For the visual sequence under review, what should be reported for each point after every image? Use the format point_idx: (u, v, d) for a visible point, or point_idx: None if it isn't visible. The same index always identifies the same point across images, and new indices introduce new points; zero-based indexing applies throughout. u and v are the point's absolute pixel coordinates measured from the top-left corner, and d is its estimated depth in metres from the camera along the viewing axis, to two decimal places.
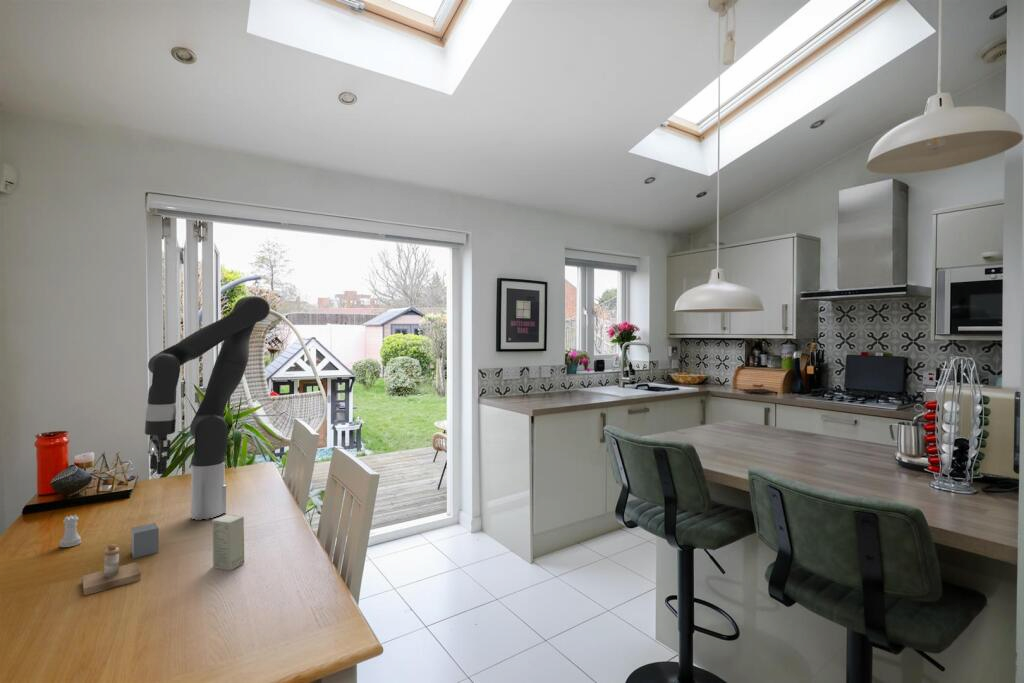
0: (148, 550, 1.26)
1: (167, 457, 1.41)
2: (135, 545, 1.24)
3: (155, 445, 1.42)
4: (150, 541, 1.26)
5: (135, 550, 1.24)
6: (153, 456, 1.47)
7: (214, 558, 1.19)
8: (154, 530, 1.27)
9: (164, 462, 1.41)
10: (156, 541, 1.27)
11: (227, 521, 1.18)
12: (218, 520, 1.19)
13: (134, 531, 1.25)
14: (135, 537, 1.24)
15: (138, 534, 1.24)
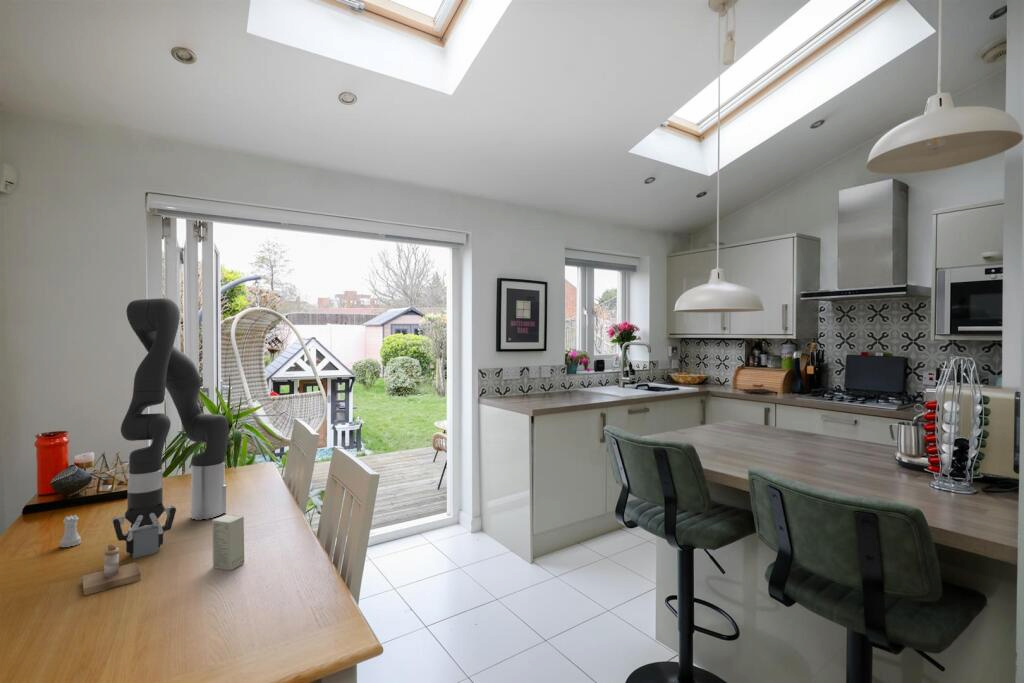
0: (148, 550, 1.26)
1: None
2: (135, 545, 1.24)
3: (156, 516, 1.28)
4: (150, 541, 1.26)
5: (135, 550, 1.24)
6: None
7: (214, 558, 1.19)
8: (154, 530, 1.27)
9: (162, 532, 1.30)
10: (156, 541, 1.27)
11: (227, 521, 1.18)
12: (218, 520, 1.19)
13: None
14: (135, 537, 1.24)
15: (138, 534, 1.24)
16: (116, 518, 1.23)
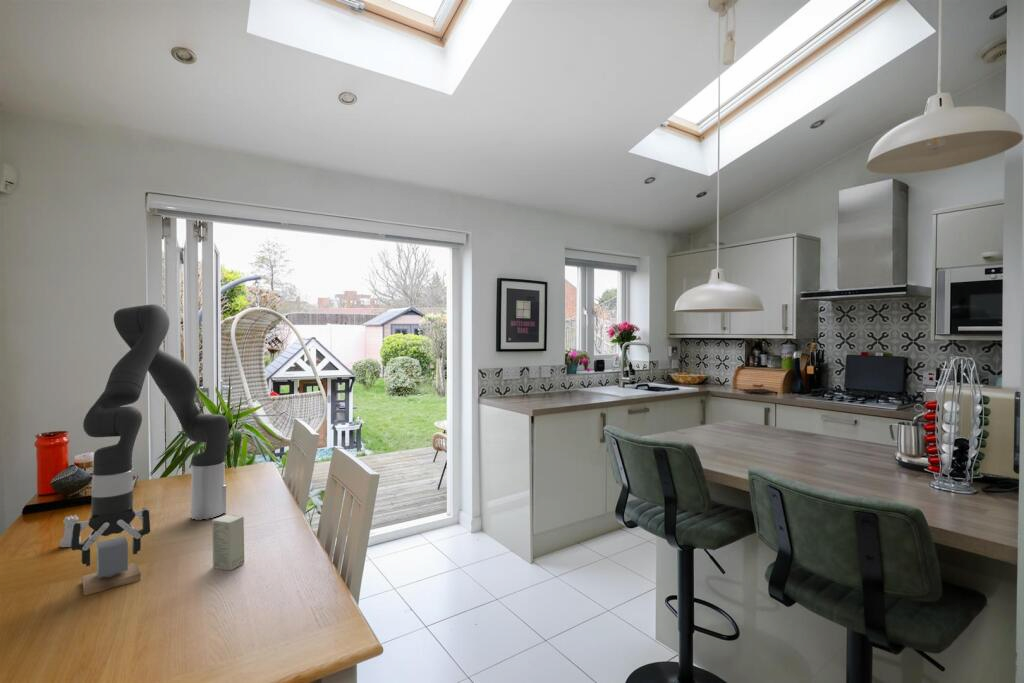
0: (116, 568, 1.11)
1: None
2: (100, 563, 1.09)
3: (126, 522, 1.13)
4: (118, 558, 1.11)
5: (100, 568, 1.09)
6: (89, 548, 1.09)
7: (214, 558, 1.19)
8: (122, 545, 1.11)
9: None
10: (125, 557, 1.12)
11: (227, 521, 1.18)
12: (218, 520, 1.19)
13: (99, 547, 1.10)
14: (100, 554, 1.08)
15: (103, 550, 1.09)
16: (78, 522, 1.08)
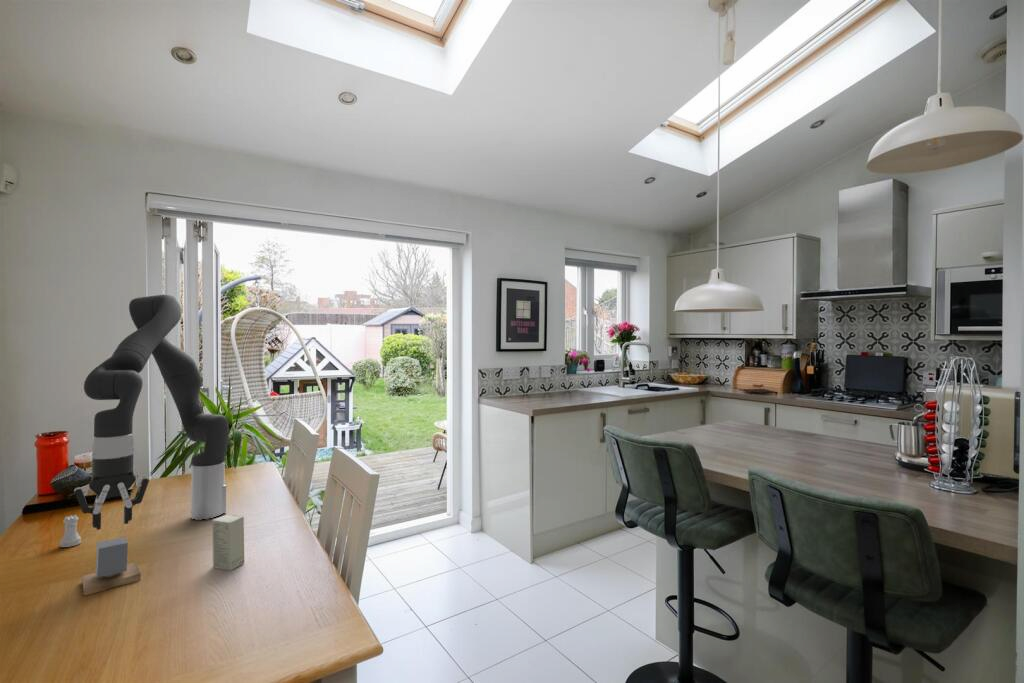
0: (115, 568, 1.10)
1: None
2: (99, 562, 1.08)
3: (125, 487, 1.12)
4: (117, 558, 1.11)
5: (99, 568, 1.08)
6: None
7: (214, 558, 1.19)
8: (122, 545, 1.11)
9: (131, 506, 1.15)
10: (124, 558, 1.12)
11: (227, 521, 1.18)
12: (218, 520, 1.19)
13: (99, 546, 1.10)
14: (100, 553, 1.08)
15: (103, 550, 1.09)
16: (78, 488, 1.08)
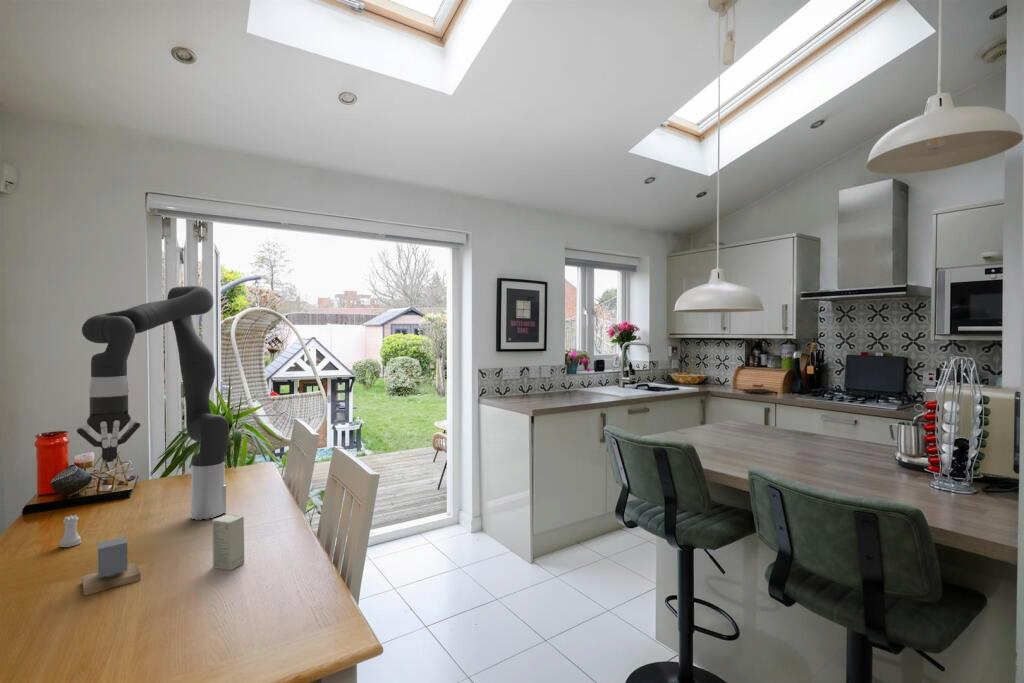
0: (116, 568, 1.10)
1: None
2: (100, 562, 1.08)
3: (118, 426, 1.21)
4: (117, 557, 1.11)
5: (100, 568, 1.08)
6: None
7: (214, 558, 1.19)
8: (122, 545, 1.11)
9: (116, 446, 1.22)
10: (125, 557, 1.11)
11: (227, 521, 1.18)
12: (218, 520, 1.19)
13: (99, 546, 1.10)
14: (99, 553, 1.08)
15: (103, 550, 1.09)
16: (79, 428, 1.16)
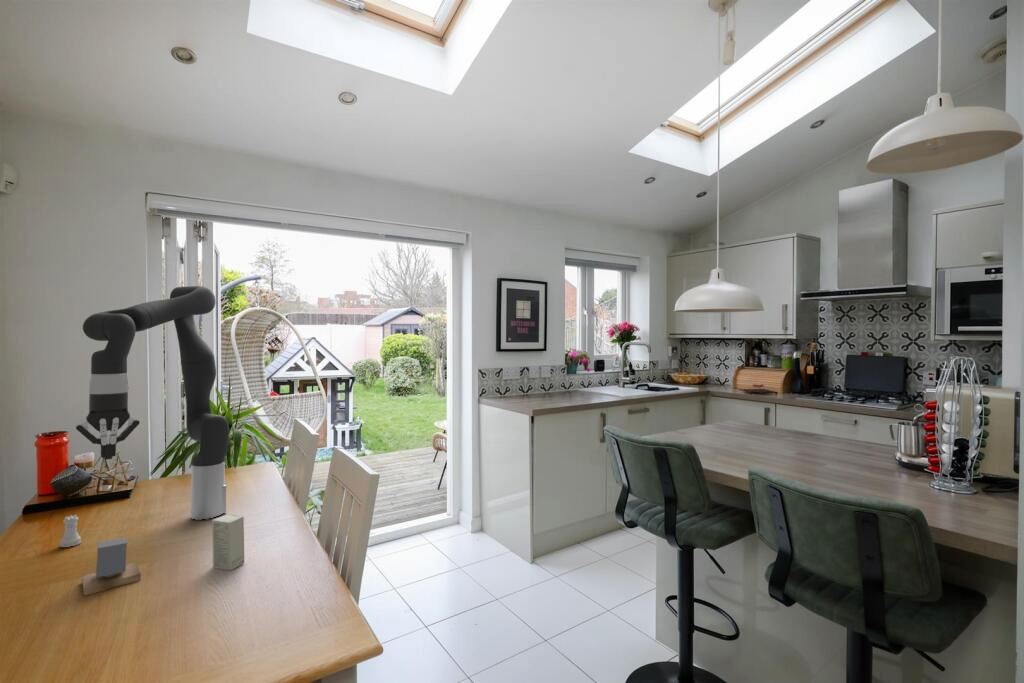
0: (114, 569, 1.10)
1: None
2: (98, 562, 1.08)
3: (118, 424, 1.21)
4: (116, 558, 1.10)
5: (98, 568, 1.08)
6: None
7: (214, 558, 1.19)
8: (121, 545, 1.11)
9: (115, 444, 1.22)
10: (123, 558, 1.11)
11: (227, 521, 1.18)
12: (218, 520, 1.19)
13: (99, 546, 1.10)
14: (99, 553, 1.08)
15: (102, 549, 1.09)
16: (78, 425, 1.16)
